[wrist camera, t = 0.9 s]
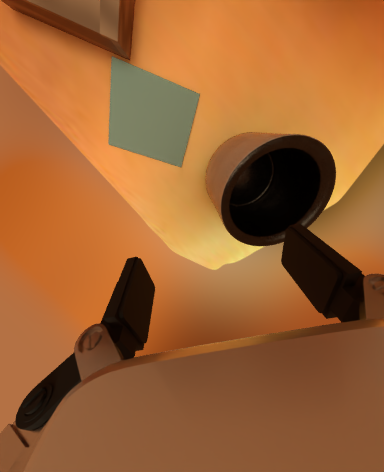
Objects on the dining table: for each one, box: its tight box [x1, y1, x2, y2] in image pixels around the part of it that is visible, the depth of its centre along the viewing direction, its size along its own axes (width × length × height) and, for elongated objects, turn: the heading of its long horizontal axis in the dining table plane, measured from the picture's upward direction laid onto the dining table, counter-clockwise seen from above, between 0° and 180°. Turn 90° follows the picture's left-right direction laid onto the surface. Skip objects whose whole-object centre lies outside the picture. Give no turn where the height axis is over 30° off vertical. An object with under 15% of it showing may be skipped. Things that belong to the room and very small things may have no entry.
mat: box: [109, 56, 200, 167], centre depth 29 cm, size 12×14×1 cm
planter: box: [206, 132, 336, 246], centre depth 29 cm, size 16×16×16 cm
